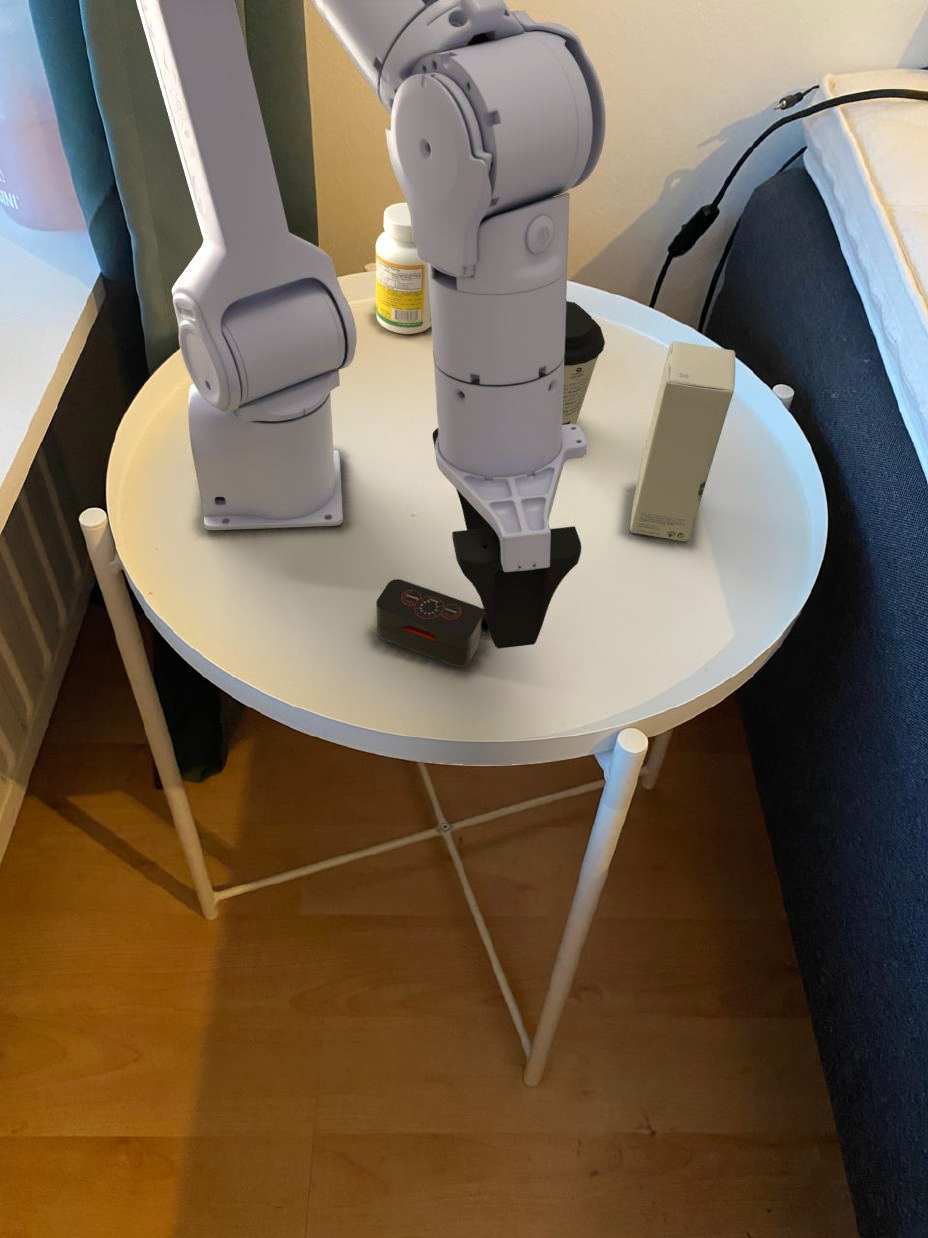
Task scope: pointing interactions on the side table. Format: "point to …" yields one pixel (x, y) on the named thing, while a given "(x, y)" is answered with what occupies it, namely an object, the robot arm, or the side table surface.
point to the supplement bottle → (401, 276)
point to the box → (682, 439)
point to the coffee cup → (579, 358)
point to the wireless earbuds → (430, 622)
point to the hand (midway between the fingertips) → (502, 593)
